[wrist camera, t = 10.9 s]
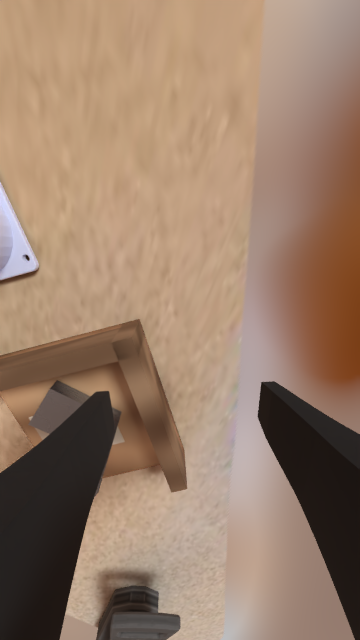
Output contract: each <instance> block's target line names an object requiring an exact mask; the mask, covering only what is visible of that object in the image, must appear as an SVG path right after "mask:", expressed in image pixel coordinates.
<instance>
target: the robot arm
mask: <svg viewBox="0 0 360 640" xmlns="http://www.w3.org/2000/svg"><path fill="white" fill-rule="evenodd" d="M26 255H28V256H29V258H30V260H29V261H27V259H26ZM38 268H39V264H38V261H37V259H36V257H35V255H34V253H33V251H32V248H31V246H30V244H29V242H28V240H27V238H26V236H25V233H24V231H23V229H22V227H21V225H20V223H19V221H18V218H17V216H16V214H15V212H14V210H13V208H12V206H11V203H10V201H9V199H8V197H7V195H6V193H5V191H4V188H3V186H2V184H1V182H0V280H4V279H7V278H11V277H15V276H18V275H22V274H25V273H29V272H33V271H36V270H37V269H38ZM258 418H259V421H260V424H261V427H262V429H263V432H264V434H265V437H266V439H267V440H268V443H269V445H270V447H271V449H272V451H273V452H274V454H275V456H276V458H277V460H278V462H279V464H280V466H281V468H282V469H283V471H284V473H285V475H286V477H287V479H288V481H289V483H290V485H291V486H292V488H293V490H294V492H295V494H296V496H297V498H298V500H299V502H300V504H301V507H302V509H303V511H304V513H305V516H306V518H307V520H308V523H309V525H310V527H311V530H312V532H313V534H314V537H315V539H316V541H317V544H318V546H319V549H320V551H321V554H322V556H323V558H324V561H325V563H326V566H327V568H328V571H329V573H330V576H331V578H332V581H333V583H334V586H335V588H336V591H337V593H338V596H339V599H340V601H341V604H342V606H343V609H344V612H345V614H346V617H347V619H348V622H349V625H350V627H351V630H352V633H353V635H354V638H355V640H360V434H358V433H356V432H354V431H353V430H351V429H349V428H347V427H345V426H344V425H342V424H340V423H339V422H337V421H335V420H334V419H332V418H330V417H329V416H327V415H325V414H324V413H322V412H321V411H319V410H317V409H316V408H314V407H313V406H311V405H310V404H308V403H307V402H305V401H303V400H302V399H300V398H299V397H297V396H296V395H294V394H293V393H291V392H290V391H288V390H287V389H285V388H284V387H282V386H281V385H279V384H278V383H276V382H262V383H261V392H260V401H259V410H258ZM114 428H115V423H114V417H113V411H112V405H111V399H110V393H109V391H98V392H95V393H94V394H93V395H92V396H91V397H90V398H88V399H87V400H86V401H85V402H84V403H83V404H82V405H81V406H80V407H79V408H78V409H77V410H76V411H75V412H74V413H73V414H72V415H71V416H69V417H68V418H67V419H66V420H65V421H64V422H63V423H62V424H61V425H60V426H59V427H57V428H56V429H55V430H54V431H53V432H52V433H50V434H49V435H48V436H47V437H46V438H45V439H43V440H42V441H41V442H40V443H39V444H38V445H36V446H35V447H34V448H33V449H31V450H30V451H29V452H28V453H26V454H25V455H24V456H23V457H21V458H20V459H19V460H17V461H16V462H15V463H13V464H12V465H11V466H9V467H8V468H7V469H5V470H4V471H3V472H1V473H0V640H59V639H60V634H61V630H62V625H63V620H64V616H65V612H66V607H67V602H68V598H69V593H70V589H71V585H72V580H73V576H74V572H75V567H76V563H77V559H78V554H79V550H80V546H81V542H82V538H83V534H84V530H85V526H86V522H87V519H88V515H89V512H90V508H91V505H92V502H93V499H94V496H95V493H96V490H97V487H98V484H99V481H100V478H101V475H102V472H103V469H104V466H105V463H106V460H107V457H108V454H109V451H110V447H111V442H112V438H113V433H114Z"/></svg>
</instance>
